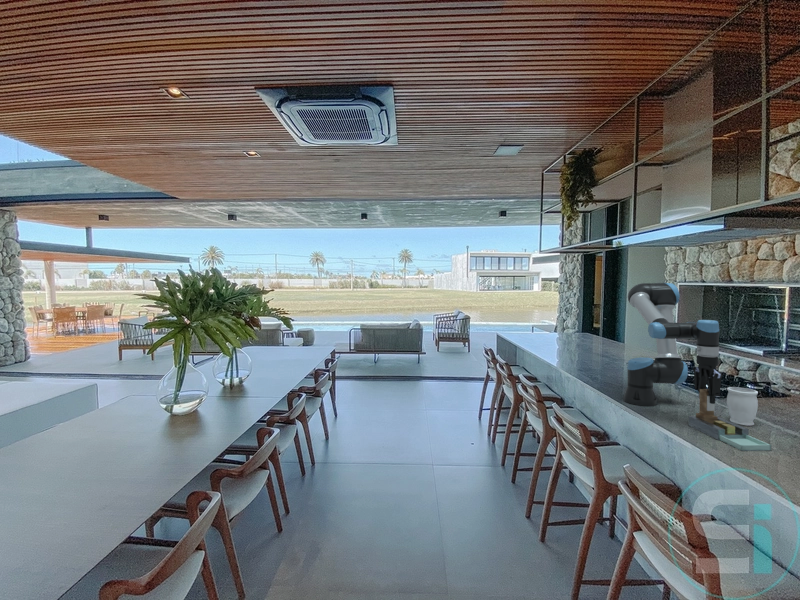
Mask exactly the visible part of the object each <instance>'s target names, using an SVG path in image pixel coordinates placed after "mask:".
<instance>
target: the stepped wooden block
mask: <svg viewBox="0 0 800 600" xmlns="http://www.w3.org/2000/svg"><path fill="white" fill-rule="evenodd" d="M707 395H709V393H708V388H706V389H700V407H699V409H698V410H699V412H696V413H695V416H696V417H698V418H700V419H702V420H705V421H707V422H709V423H711V424H714V421H718V417H719V416H718V417H717V415H715V410H714V411H707Z"/></svg>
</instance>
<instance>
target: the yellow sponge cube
mask: <svg viewBox="0 0 800 600" xmlns="http://www.w3.org/2000/svg"><path fill="white" fill-rule="evenodd" d="M721 428H723V429H725V433H726V434H735V426H732V425H730V424H722V425H721Z"/></svg>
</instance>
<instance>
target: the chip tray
mask: <svg viewBox="0 0 800 600" xmlns="http://www.w3.org/2000/svg"><path fill="white" fill-rule="evenodd" d="M718 441H721V442H723V443H725V444H727V445H729V446H731V447H733V448H735V449H737V450H739V451H741V452H742V451H747V452H749V451H751V452H752V451H758V452H759V451H772V444H769V443H767V442H766V441H762V440H761V439H758V438H757V437H756V438H755V437H754V436H751V435H749V434H748V435H746V439H728V438H726V437H724V436H722V435H719V440H718Z"/></svg>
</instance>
